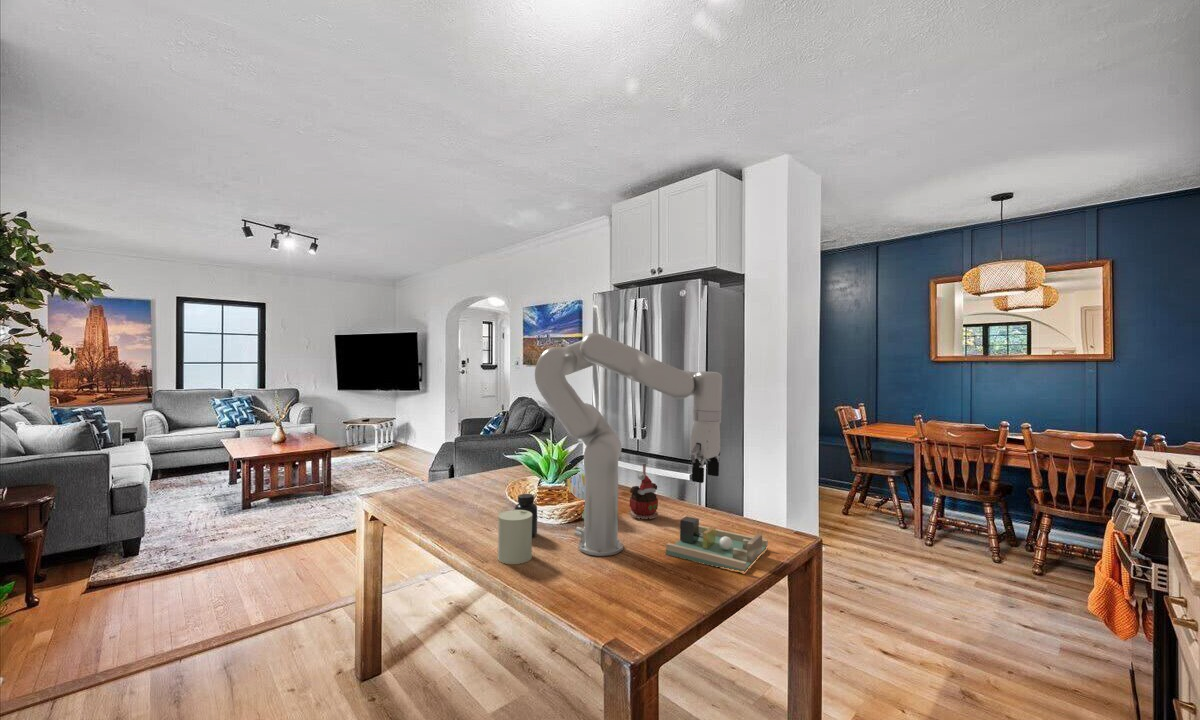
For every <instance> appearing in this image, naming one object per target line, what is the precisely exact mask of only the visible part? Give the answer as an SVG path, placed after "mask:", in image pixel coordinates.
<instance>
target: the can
mask: <svg viewBox="0 0 1200 720" xmlns="http://www.w3.org/2000/svg"><path fill="white" fill-rule="evenodd" d="M497 519H498V539H497V540H498V541H497V543H498V547H497V549H498V550H497V560H498V562H500V563H501V562H502V563H501V564H504V563H505V565H520V563H521V564H525V563H528V562H529V561H531V560H532V559H533V553H532V552H533V548H532V545H533V543H532V541H533V538H532V513H531V512H529V511H526V510H515V509H510V510H504V511H502V512H500V513H499V514H498V515H497Z"/></svg>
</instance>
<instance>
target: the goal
mask: <svg viewBox="0 0 1200 720" xmlns="http://www.w3.org/2000/svg"><path fill="white" fill-rule="evenodd" d="M752 537H753V538H752V539H751V540H746V539H744V540H743V549H745V550H742V549H737V548H734V549H733V558H734V559H738V560H742V561H746V562H750V563H752V562H753V561H754V560H755V559H756V557H757V556H758V555H759V554H760V553H761V552H762V539H763V533H757V534H756V535H754V536H752ZM746 550H747V551H746Z"/></svg>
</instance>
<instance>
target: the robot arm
mask: <svg viewBox="0 0 1200 720" xmlns="http://www.w3.org/2000/svg"><path fill="white" fill-rule="evenodd" d="M595 365H596V366H599V367H600V368H602V369H603V368H604V369H606V370H608V371H611V372H614V373H615V374H617V375H620V376H622V377H624V378H626V379H629V380H631V381H633V382H635V383H639V384H641V385H643V386H646V387H648V388H650V389H653V390H655V391H657V392H660V393H662V394H664V395H666V396H668V397H671V398H674V399H677V400H682V399H686V398H688V397H690V396H693V413H692V415H693V416H692V421H693V423H692V428H691V434H690V448H689V457H690V463H691V468H692V469H691V470H692V471H691V481H692V482H694V483H700V484H703V483H704V482H705V468H704V464H705V461H707V471H706V473H707V475H708V476H711V477H719V475H720V473H719V472H720V460H721V459H720V455H721V448H722V447H721V446H722V445H721V428H720V427H721V426H720V424H721V423H722V401H723V400H722V399H723V398H722V396H723V395H722V394H723V376H722V374H721V373H720V372H717V371H689V370H683V369H679V368H677V367H675V366H672V365H669V364H668V363H664V362H662V361H660V360H658V359H656V358H653V357H651V356H650V355H648V354H647V353H645V352H644V351H642V350H640V349H637V348H635V347H632V346H630V345H627V344H625V343H623V342H620V341H618V340H616V339H613V338H611V337H609V336H606V335H604V334H601V333H598V332H591V333H588V334H587V335H585V336H584V337H583V338H582V340H579V341H577V342H576V341H575V342H574V343H571V344H568V345H566V346H563V347H562V346H552V347H549V348H547V349H545V350H544V351H543V352H542V353H541V354H540V356H539V358H538V360H537V361H536V364H535V369H534V381H535V384H536V387H537V389H538V391H539V394H540V395H541V397H543V399H544V401H545V402H546V404H547V405H548V407H550V409H551V411H552V412H553V413H554V415H555V417H556V418H557V419H558V421H559V422H560V423H561V425H562V427H563V428H564V429H565V431H566V432H567V434H568V435H569V436H570V437H572V438H574V439H577V440H578V439H579V440H581V441H582V442H583V444H584V445H585V449H584V453H583V465H584V474H585V509H584V519H583V521H584V522H583V524H584V525H583V527H581V526H576V528H575V531H574V532H573V535H574V536H576V537H580V541H579V542H578V550H579V551H580V552H581V553H583V554H585V555H588V556H593V557H594V556H595V557H608V556H613V555H617V554H618V553H619V554H620V552H622V550H624V544H623V542H622V541H621V540H620V539H619V537H618V536H619V535H618V533H619V532H618V529H619V528H618V527H619V458H620V456H621V453H622V450H623V449H622V443H621V440H620V438H619V436H617V435H618V434H616V432H615V431H614V430H613V428H612V426H610V424H609V423H608V421H607V420H606V418H605V417H604V416H603V415H602V413H601V412H600V411H599V410H598V409H597V408H596V407H595V406H594V405H592V404H591V403H586V402H584V401H583V400H582V399H581V397H580V396H579V395H578V393H577V391H576V390H575V389H574V388H573V387H572V385H571V384H570V383H569V381H568V380H567V378H566V376H568V375H572V374H574V373H577V372H579V371H582V370H584V369H588V368H590V367H593V366H595Z"/></svg>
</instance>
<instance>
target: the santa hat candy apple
mask: <svg viewBox="0 0 1200 720" xmlns="http://www.w3.org/2000/svg"><path fill="white" fill-rule="evenodd" d="M646 466H647V464H646V463H642V473H638V475H637V479H638V480H641V483H640V485H639V486H638V485H633V486H631V488H630V491H629V492H630V495H631V497H630V498H629V508H630V509H631V510H629V515H630V517H632V518H634V519H640V518H641V519H642V520H651V519H655V518H657V517H658V515H659V512H658V511H657V510H658V508H659V498H657V494H656V491H657V490H658V484H656V483H654V482H652V481H653V480H651V479H650V477H649V476H648V475H646V469H647V467H646ZM648 518H649V519H648ZM641 519H640V520H641Z"/></svg>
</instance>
